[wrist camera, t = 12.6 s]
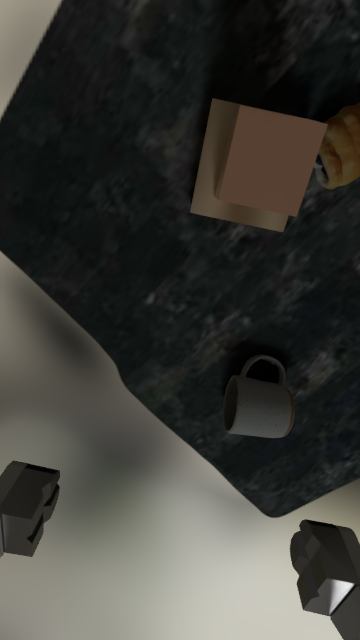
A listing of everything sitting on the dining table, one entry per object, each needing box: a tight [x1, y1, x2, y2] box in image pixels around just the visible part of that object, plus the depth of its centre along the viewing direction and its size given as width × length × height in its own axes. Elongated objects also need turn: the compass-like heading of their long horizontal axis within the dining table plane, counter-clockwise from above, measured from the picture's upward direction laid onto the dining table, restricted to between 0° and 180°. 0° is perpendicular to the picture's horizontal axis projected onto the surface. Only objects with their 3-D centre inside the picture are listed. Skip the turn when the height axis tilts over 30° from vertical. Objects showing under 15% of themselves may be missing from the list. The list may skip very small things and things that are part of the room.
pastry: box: [314, 102, 360, 189], centre depth 30 cm, size 9×7×4 cm
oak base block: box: [190, 98, 319, 232], centre depth 31 cm, size 10×10×4 cm
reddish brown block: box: [214, 105, 328, 217], centre depth 25 cm, size 6×6×9 cm
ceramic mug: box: [223, 354, 295, 438], centre depth 41 cm, size 11×8×8 cm
